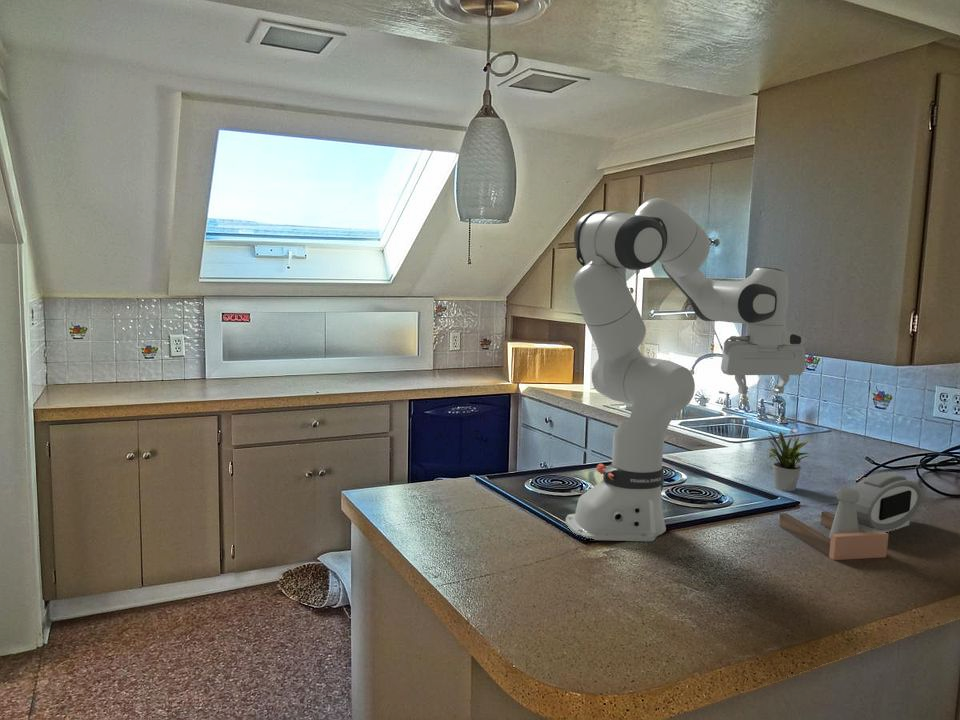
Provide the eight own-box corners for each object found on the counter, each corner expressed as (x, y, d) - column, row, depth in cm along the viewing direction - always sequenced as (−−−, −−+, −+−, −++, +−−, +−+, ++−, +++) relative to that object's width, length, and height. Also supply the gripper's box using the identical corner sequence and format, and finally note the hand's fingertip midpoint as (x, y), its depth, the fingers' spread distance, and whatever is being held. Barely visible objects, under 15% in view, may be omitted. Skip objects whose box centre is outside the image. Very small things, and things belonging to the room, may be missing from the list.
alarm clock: (866, 542, 162) (871, 486, 160) (839, 533, 167) (844, 479, 165) (920, 523, 174) (926, 471, 173) (893, 515, 179) (899, 464, 178)
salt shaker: (862, 554, 155) (868, 494, 153) (834, 552, 156) (839, 493, 154) (851, 543, 161) (857, 486, 159) (824, 542, 161) (829, 484, 159)
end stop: (833, 560, 152) (835, 536, 151) (829, 557, 153) (831, 534, 152) (886, 557, 154) (888, 534, 153) (881, 554, 155) (883, 531, 155)
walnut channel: (829, 557, 153) (830, 543, 153) (779, 526, 171) (780, 513, 170) (881, 554, 155) (882, 540, 155) (826, 523, 173) (827, 511, 172)
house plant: (741, 485, 201) (746, 427, 198) (767, 476, 210) (771, 420, 208) (793, 499, 190) (798, 437, 188) (817, 489, 199) (822, 429, 197)
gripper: (731, 337, 171) (727, 396, 173) (811, 337, 175) (806, 395, 177) (718, 334, 177) (714, 391, 179) (795, 335, 181) (791, 390, 183)
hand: (760, 393), depth 178 cm, fingers open, 8 cm apart
